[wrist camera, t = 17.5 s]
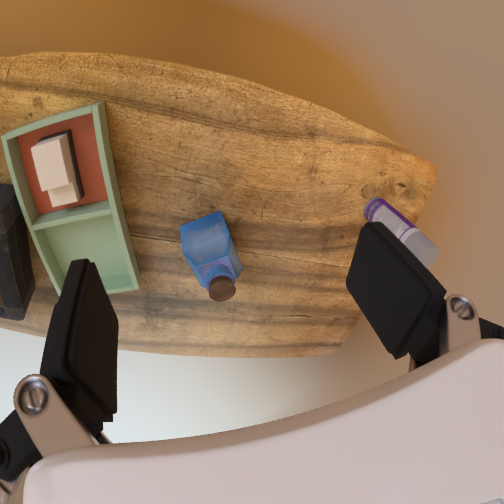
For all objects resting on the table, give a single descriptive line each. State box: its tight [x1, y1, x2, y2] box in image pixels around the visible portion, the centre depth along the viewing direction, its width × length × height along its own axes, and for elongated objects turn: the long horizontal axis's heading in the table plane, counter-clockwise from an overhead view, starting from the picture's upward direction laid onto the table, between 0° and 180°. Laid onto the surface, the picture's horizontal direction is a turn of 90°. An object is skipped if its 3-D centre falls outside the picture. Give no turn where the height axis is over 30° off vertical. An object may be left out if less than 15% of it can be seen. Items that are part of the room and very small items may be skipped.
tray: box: [1, 101, 141, 296], centre depth 32 cm, size 14×26×4 cm, turn 0°
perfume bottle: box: [180, 210, 243, 301], centre depth 38 cm, size 6×6×12 cm
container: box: [364, 197, 439, 269], centre depth 42 cm, size 5×5×15 cm
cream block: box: [31, 129, 85, 207], centre depth 28 cm, size 9×4×4 cm, turn 0°
